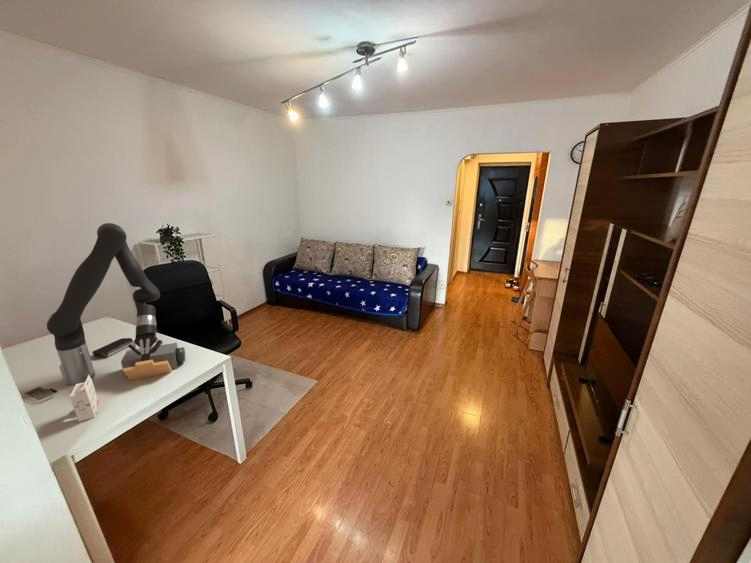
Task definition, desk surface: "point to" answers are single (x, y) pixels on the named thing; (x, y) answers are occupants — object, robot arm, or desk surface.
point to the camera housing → (157, 356)
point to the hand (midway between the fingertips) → (145, 363)
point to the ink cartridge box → (84, 400)
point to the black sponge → (113, 347)
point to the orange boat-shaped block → (147, 369)
